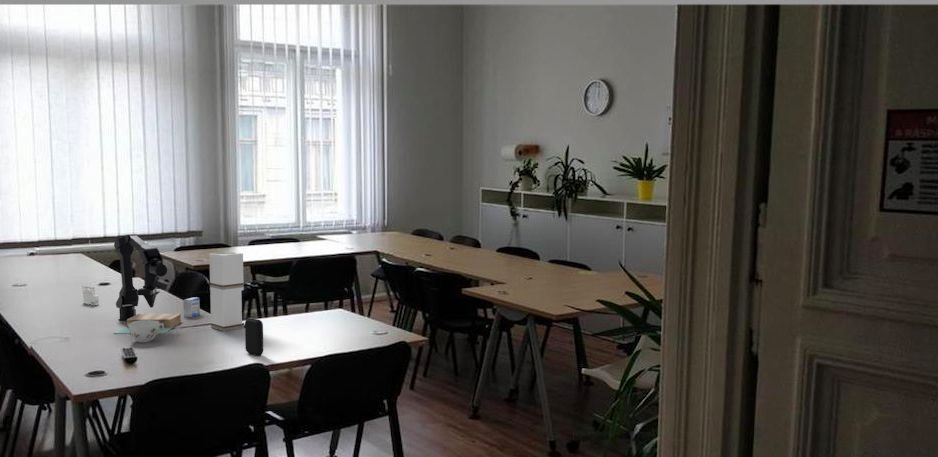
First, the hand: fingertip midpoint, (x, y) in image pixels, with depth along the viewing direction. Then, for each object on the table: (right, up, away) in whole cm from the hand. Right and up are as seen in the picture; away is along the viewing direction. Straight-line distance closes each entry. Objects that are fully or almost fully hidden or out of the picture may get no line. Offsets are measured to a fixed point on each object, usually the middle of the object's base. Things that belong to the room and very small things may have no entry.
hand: (151, 307), depth 371 cm
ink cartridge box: (-55, -4, +56) cm, 79 cm away
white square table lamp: (+36, -10, 0) cm, 37 cm away
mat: (0, -10, -9) cm, 13 cm away
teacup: (+9, -12, -28) cm, 32 cm away
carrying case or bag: (+62, -14, -51) cm, 81 cm away
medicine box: (+9, -7, +27) cm, 29 cm away
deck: (0, -9, +4) cm, 10 cm away
